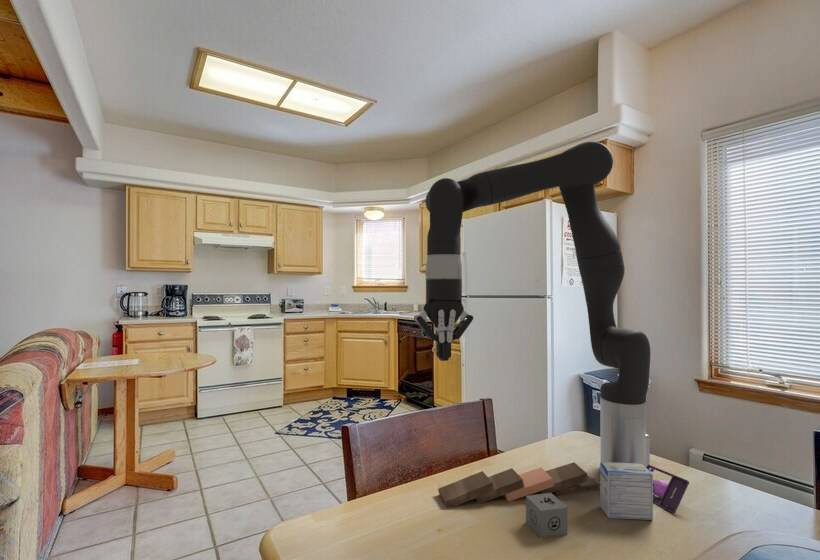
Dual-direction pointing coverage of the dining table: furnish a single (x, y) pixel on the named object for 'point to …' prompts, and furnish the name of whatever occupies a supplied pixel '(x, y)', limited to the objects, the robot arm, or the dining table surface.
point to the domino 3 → (532, 483)
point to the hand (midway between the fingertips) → (443, 360)
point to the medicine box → (626, 491)
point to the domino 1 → (466, 489)
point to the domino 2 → (502, 485)
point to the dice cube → (546, 515)
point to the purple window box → (669, 490)
